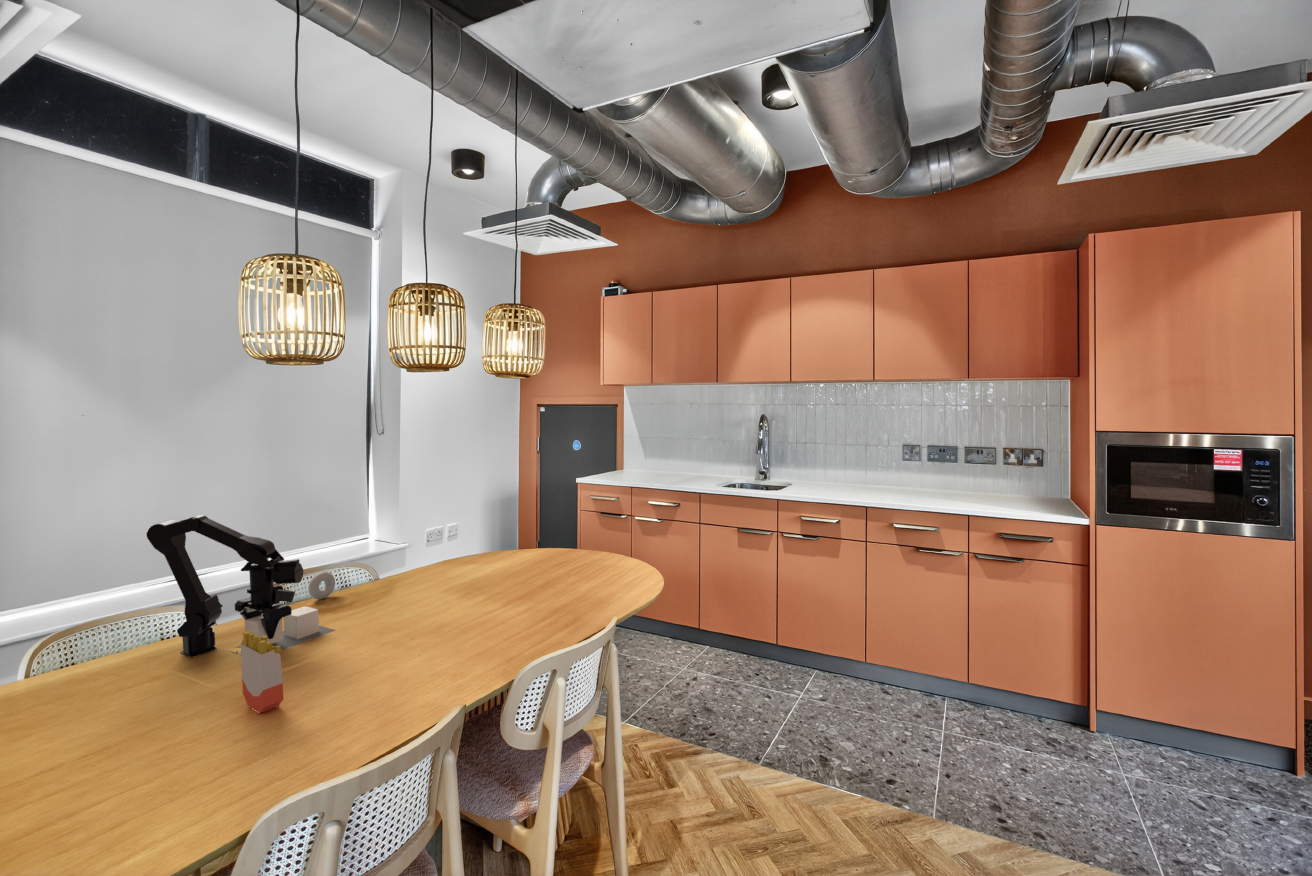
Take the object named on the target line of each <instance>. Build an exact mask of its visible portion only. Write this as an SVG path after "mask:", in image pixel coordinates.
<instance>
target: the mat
mask: <svg viewBox="0 0 1312 876" xmlns="http://www.w3.org/2000/svg"><path fill="white" fill-rule="evenodd" d="M335 631H336V629H333V628H329V627H327V626H322V625H320V624H319V632H316V633H314V634H311V635H308V636H305V637H303V638H300V639H295V638H292V637H289V636H285V633H284V630H283V640H280V641H278V642H275V643H273V646H275V647H276V646H281V649H280V652H281V651H285V650H286V649H289V648H293V647H295V646H297V645H300V644H303V643H305V642H308V641H310V640H313V639H317V638H319V637H322V636H324V635H327V634H330V633H333V632H335ZM234 648H241V645H238V646H236V647H234ZM240 653H241V652H240ZM240 653H239V654H240ZM234 654H237V655H239V654H238V651H236V652H234Z"/></svg>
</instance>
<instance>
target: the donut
mask: <svg viewBox="0 0 1312 876" xmlns="http://www.w3.org/2000/svg"><path fill="white" fill-rule="evenodd" d="M322 582H324V587H323V588H322V589H320V585H321V583H322ZM335 587H336V579H335V577H334V575H333V574H332V573H331V572H328V571H320V572H317V573H316V574H315V575H314V576H312V578H311V579H310V580H309V583H308V587H307V589H308V594H309V595H310V597H311V598H312V599H315V600H318V599H319V600H323V598H324V599H326V598H328V597H329V596H330V595H332V593H333V592H334V590H335Z"/></svg>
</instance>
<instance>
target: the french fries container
mask: <svg viewBox="0 0 1312 876" xmlns="http://www.w3.org/2000/svg"><path fill="white" fill-rule="evenodd" d="M242 638H243V639H242V640H241V643H240V646H241V655H240V660H241V661H240V663H241V682H242V683H241V684H242V695H243V697H244V700H245V702H246V704H247V705H246V706H247V707H248V706H250V707H251V708H253V709H254V710H256V711H258V712H259V713H260V714H262V713H261V712H263V713H265V712H267V711H266V710H268V711H270V710H272V709H271V708H273V709H274V707H275V708H277V707H276V706H278V707H279V706H280V704H281V703H282V702H283V700H284V681H283V671H282V660H281V659H282V658H281V651H280V649H281V646H276V647H275V646H273V642H268V643H267V638H268V637H267V636H266V635H265V636H261V639H259V636H254V634H253V633H252V632H251V631H247V632H245V631H244V632H242ZM251 708H250V709H251ZM269 709H270V710H269ZM254 710H253V711H254ZM264 711H265V712H264Z"/></svg>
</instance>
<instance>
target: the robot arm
mask: <svg viewBox="0 0 1312 876" xmlns="http://www.w3.org/2000/svg"><path fill="white" fill-rule="evenodd" d="M191 532H195V533H196V534H200V535H201V536H204V537H206V538H208V539H210V540H213V541H215V542H216V543H220V544H221V545H224V546H225V547H227V548H230V549H232V550H234V551H235V552H236V553H237V554H238V555H239V557H240V558H242V559H243V560H245V561H247V562H246V564H244V566H243V567H242V568H240V571H241V572H248V573H249V588H248V589H246V593H247V594H250V596H249V597H246V598H242V599H239V600H237V601H236V602H235V604H234V611H235V612H238V613H239V615H241V616H242V617H243V619H244V621H245V620H247V619H250V618H253V617H257V616H260V615H263V618H262V619H260V620H261V623H262V625H263V627H264V630H265V632H266V634H267V636H268V638H269V639H272V638H273V637H274V634H275V631H276V628H277V625H278V623H279V621H280V619H281V618H282V619H283V618H284V617H285V616H288V615H291V614H292V610H293V609H292V608H293V607H292V606H290V605H287V604H284V603H281V602H286V603H287V602H288V603H293V601H294V598H295V594H296V591H295V590H294V591H293V590H289V589H286V588H285V589H284V586H282V585H283V584H284V585H285V584H299V583H301V581H302V580H303V577H304V568H303V565H302V563H300V559H299V558H298V559H297V558H296V559H292V560H285V557H283V556H282V554H281V553H280V552H279V551H278V550H277V549H276V546H275V543H274V542H273V541H271V540H269V539H265V538H261V537H257V536H250V535H249V536H248V535H246V534H243V533H241V532H239V531H237V530H234V529H232V528H230V527H228V526H226V525H224V524H221V523H220V522H217V521H215V520H213V519H211V518H209V517H208V516H206V515H203V514H198V515H195V516H192V517H189V518H186V519H182V520H179V521H178V520H176V519H168V520H165V521H162V522H159V523H155V524H153V525H151V526H150V527H149V528H148V530H147V532H146V539H147V540H148V541H149V543H150V544H151V546H152V548H154V549H155V550H156V551H158V552H159V553H160V554H162V555H163V556H164V558H165V560H166V561H167V564H168V566H169V568H170V571H171V572H172V574H173V577H174V579H175V581H176V583H177V585H178V588H179V589H180V592H181V594H182V596H183V599H184V617H185V620H186V621H185V622H184V623H183V624H181V626H180V627H179V628H177V629H176V632H177V634H178V637H179V638H182V651H180V654H181V655H184V656H186V657H189V656H190V657H189V658H194V657H193V656H195V657H197V655H198V656H200V655H203V654H207V653H209V652H212V650H213V651H214V650H215V649H216V650H217V649H218V648H217V646H216V634H215V633H216V632H215V631H213V630H214V629H213V626H214V625H215V624H216V621H218V619H219V618H220V617H221V615H222V613H223V611H222V608H223V607H224V606H223V605H222V603H220V600H219V596H218V595H217V594H215V595H210V594H208V593H207V592H206V591H205V588H204V586H203V584H202V582H201V580H200V577H199V575H198V574H197V571H196V569H195V567H194V565H193V562H192V560H191V558H190V555H189V553H188V551H187V549H186V541H187V536H186V534H188V533H191ZM269 559H270V560H269ZM275 583H276V584H275ZM274 584H275V585H274Z"/></svg>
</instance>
